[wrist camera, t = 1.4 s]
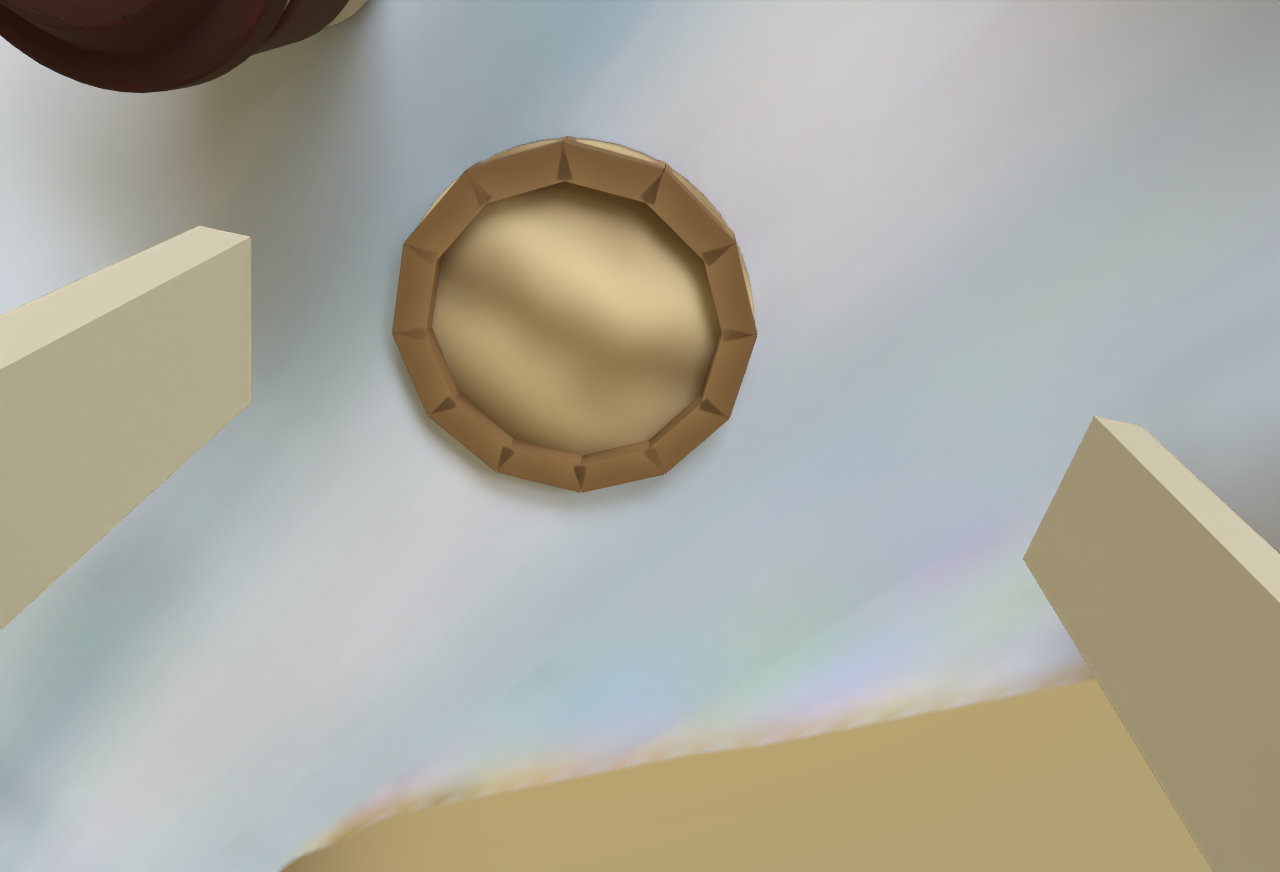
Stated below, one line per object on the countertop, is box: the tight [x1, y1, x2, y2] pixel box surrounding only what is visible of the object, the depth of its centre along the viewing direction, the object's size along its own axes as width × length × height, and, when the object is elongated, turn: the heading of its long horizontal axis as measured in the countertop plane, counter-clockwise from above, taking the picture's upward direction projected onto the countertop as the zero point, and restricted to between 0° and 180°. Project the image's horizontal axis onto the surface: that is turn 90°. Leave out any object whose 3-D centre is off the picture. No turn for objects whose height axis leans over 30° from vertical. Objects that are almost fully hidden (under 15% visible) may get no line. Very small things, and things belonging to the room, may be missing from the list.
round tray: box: [392, 136, 757, 492], centre depth 39 cm, size 16×16×2 cm
